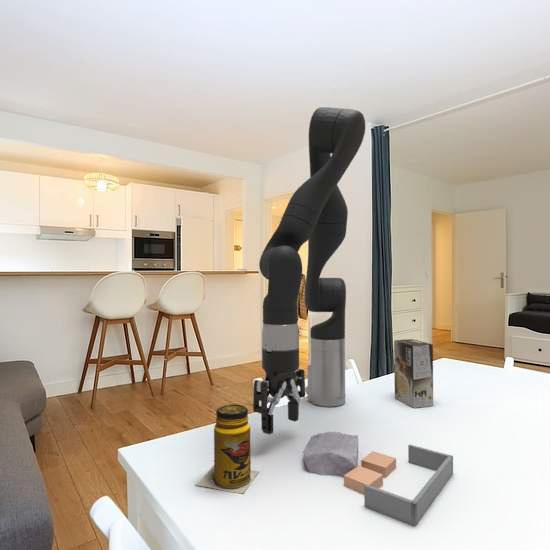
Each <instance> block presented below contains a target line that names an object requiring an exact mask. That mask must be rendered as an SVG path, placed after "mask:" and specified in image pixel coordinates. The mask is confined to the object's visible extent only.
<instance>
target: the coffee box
mask: <svg viewBox="0 0 550 550" xmlns="http://www.w3.org/2000/svg"><path fill="white" fill-rule="evenodd" d="M433 346H434V345H433V343H429V342H425V341H421V340H417V339H411V338H410V339H397V340H393V350H394V352H393V354H394V355H393V358H394V360H393V362H394V363H393V366H394V374H393V375H394V398H395V400H398V401H400V402H402V403H404V404H406V405H407V406H410V407H412V408H413V409H416V408H424V407H426V408H427V407H434V355H433V354H434V352H433V351H434V350H433V349H434V347H433Z"/></svg>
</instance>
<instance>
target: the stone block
mask: <svg viewBox="0 0 550 550" xmlns="http://www.w3.org/2000/svg"><path fill="white" fill-rule="evenodd" d="M358 435H359V434H354V435H353V434H349V433H345V432H344V433H343V432H339V431H337V432H336V431H327V432H326V431H325V432H323V433H321V432H318V433H317V434H313V435H312V436H311V437H310V439H309V440H308V441H307V443H306V445H305V447H304V450H303V452H302V453H303V458H304V459H303V461H304V463H305V464H304V466H305V468H306V470H307V471H308V472H309V473H310V474H314V475H315V474H316V475H319V476H337V477H343V478H344V475H345V474H347V473H348V472H350V471H351V470H353V469H355V468H356V467H358V460H359V459H358V456H359V436H358Z"/></svg>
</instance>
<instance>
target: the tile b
mask: <svg viewBox="0 0 550 550" xmlns="http://www.w3.org/2000/svg"><path fill="white" fill-rule="evenodd" d="M360 462H361V463H360V466H361V467H364V468H367V469H369V470H372V471H375V472H377V473H380V474H383V478H387V477H388V476H389V475H390V474H391V473H392V472H394V470H396V469H397V458H396V457H393V456H391V455H390V456H389V455H387V454H383V453H380V452H376V451H370V452H369V453H368V454H367V455H365V457H363V458H362V459H361V461H360Z"/></svg>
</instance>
